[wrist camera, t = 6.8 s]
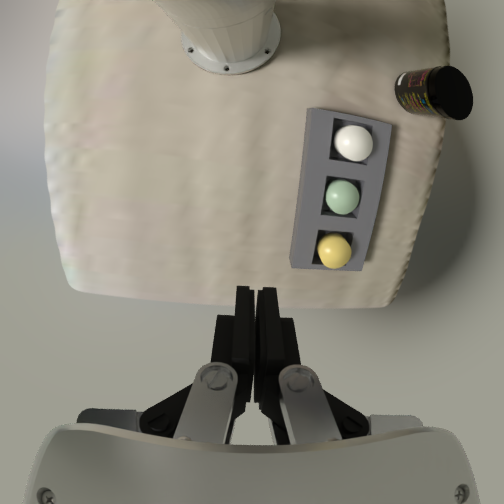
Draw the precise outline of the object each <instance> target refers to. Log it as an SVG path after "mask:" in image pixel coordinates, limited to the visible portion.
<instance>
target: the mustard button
mask: <svg viewBox="0 0 504 504" xmlns="http://www.w3.org/2000/svg"><path fill="white" fill-rule="evenodd" d="M317 251H318V254H319V256H320V258H321V261H322V263H323V264H324V265H325V266H326V267H328V268H332V269H336V268H340V267H342V266H344V265H345V264H346V263H347V262H348V261H349V259H350V257H351V247H350V246H349V244H348V243H347V241H346V240H345V238H344V237H343V236H342V235H341V234H339V233H336V232H331V233H327V234H325V235H324V236H323V237H321V239H320V240H319V242H318V244H317Z"/></svg>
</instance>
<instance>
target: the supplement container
mask: <svg viewBox="0 0 504 504" xmlns="http://www.w3.org/2000/svg"><path fill="white" fill-rule="evenodd" d="M395 95H396V98H397V100H398V102H399V104H400V105H401V106H402V107H403V108H404V109H405V110H406V111H408V112H409V113H411V114H416V115H426V116H434V117H442V118H447V119H454V120H463V119H465V118H467V117H468V115H469V114H470V112H471V110H472V106H473V94H472V90H471V87H470V84H469V82H468V80H467V79H466V77H465V76H464V75H463V73H461V72H460V71H459V70H458V69H456V68H455V67H452V66H439V67H435V68H428V69H421V70H415V71H409V72H404V73H402V74H401V75H399V77H398V78H397V80H396V82H395Z"/></svg>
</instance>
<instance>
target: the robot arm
mask: <svg viewBox="0 0 504 504" xmlns="http://www.w3.org/2000/svg"><path fill="white" fill-rule="evenodd" d="M153 1H154V2H155V3H156V4H157V5H158V6H159V7H160V8H161V9H162V10H163V11H164V12H165V13H166V15H167V16H168V17H169V18H170V19H171V20H172V21H173V22H174V23H175V24H176V26H177V27H178V28H179V29H180V30H181V42H182V46H183V49H184V51H185V53H186V55H187V56H188V57H189V59H190V60H191V61H192V62H193V63H194V64H195V65H197V66H198V67H200V68H202V69H203V70H206V71H208V72H211V73H215V74H219V75H237V74H242V73H246V72H249V71H252V70H254V69H256V68H258V67H260V66H261V65H263V64H264V63H265V62H266V61H268V60H269V59H270V58H271V56H272V55H273V54H274V52H275V51H276V49H277V47H278V44H279V41H280V37H281V28H280V23H279V20H278V18H277V16H276V14H275V13H274V12H273V11H274V6H275V2H276V0H153ZM191 50H194V52H192V53H190V51H191ZM265 51H268V52H269V53H268V54H266V53H265ZM226 68H229V71H226ZM253 375H254V402H255V403H257V402H258V403H259V409H260V410H261V412H262V413H263V414H264V415H266V416H267V417H268V421H269V426H270V430H271V435H272V439H273V443H274V445H263V446H262V445H230V444H231V439H232V435H233V431H234V426H235V422H236V418H237V417H239V416H240V415H241V414H243V413H244V412H245V407H246V402H250V399H251V390H252V383H253ZM23 504H480V499H479V495H478V491H477V487H476V483H475V479H474V475H473V472H472V470H471V466H470V463H469V460H468V458H467V455H466V453H465V451H464V449H463V447H462V445H461V443H460V441H459V440H458V438H457V437H456V436H455V435H454V434H453V433H452V432H450V431H448V430H445V429H442V428H436V427H423V424H422V422H421V421H420V419H418V418H417V417H415V416H411V415H370V417H367V416H364V415H363V414H362V413H360V412H359V411H357V410H355V409H353V408H352V407H350V406H349V405H347V404H345V403H344V402H342V401H341V400H339V399H337V398H336V397H334V396H333V395H331V394H330V393H328V392H326V391H325V390H323V389H322V386H321V383H320V381H319V378H318V376H317V375H316V373H315V372H314V371H313V370H312V369H311V368H309V367H307V366H303V365H301V362H300V355H299V350H298V344H297V339H296V332H295V327H294V322H293V318H280V315H279V307H278V299H277V291H276V288H273V287H263V290H258V296H257V306H256V317H255V301H254V290H249V286H237V291H236V305H235V316H231V315H217V320H216V327H215V334H214V341H213V348H212V356H211V363H208V364H206V365H204V366H202V367H201V368H200V369H199V370H198V372H197V374H196V377H195V379H194V382H193V383H192V384H191V385H189V386H187V387H185V388H184V389H182V390H181V391H179V392H177V393H175V394H174V395H172V396H170V397H168V398H167V399H165V400H163V401H161V402H160V403H158V404H156V405H154V406H152V407H150V408H148V409H147V410H146V411H144V412H137V411H136V410H120V409H96V408H89V409H85V410H84V411H82V412H81V413H80V414H79V416H78V418H77V423H74V424H65V425H61V426H58V427H55V428H54V429H52V430H51V431H50V432H49V433H48V434H47V436H46V437H45V439H44V440H43V442H42V444H41V446H40V448H39V450H38V452H37V455H36V457H35V460H34V462H33V465H32V468H31V471H30V474H29V478H28V482H27V486H26V490H25V494H24V499H23Z"/></svg>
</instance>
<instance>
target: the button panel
mask: <svg viewBox="0 0 504 504" xmlns="http://www.w3.org/2000/svg"><path fill="white" fill-rule="evenodd" d="M344 125H354V126H360V127H363V128H364V129H366V130H367V131H368V132H369V133H370V135H371V137H372V141H373V147H372V151H371V153H370V155H369V156H368V157H367V158H366V159H364V160H361V161H352V160H350V159H347V158H345V157H343V156H342V155H340V154H339V153H338V152H337V151H336V149H335V147H334V141H333V140H334V135H335V133H336V131H337V130H338V129H339V128H340V127H342V126H344ZM391 129H392V125H391V124H388V123H384V122H380V121H376V120H372V119H367V118H363V117H359V116H354V115H349V114H344V113H339V112H333V111H328V110H322V109H315V108H308V109H307V116H306V126H305V136H304V146H303V156H302V165H301V173H300V182H299V190H298V198H297V206H296V214H295V221H294V228H293V236H292V243H291V249H290V256H289V259H290V263H291V267H292V268H301V269H322V270H345V271H362V268H363V264H364V261H365V257H366V254H367V250H368V246H369V242H370V239H371V235H372V231H373V227H374V222H375V218H376V214H377V209H378V205H379V200H380V195H381V190H382V185H383V180H384V175H385V169H386V163H387V157H388V151H389V144H390V137H391ZM335 178H343V179H345V180H347V181H348V182H350V183H351V184H352V185H354V186H355V187H356V188H357V190H358V193H359V202H358V205H357V207H356V208H355V209H354V210H353V211H352V212H350V213H348V214H337V213H335V212H334V211H333V210H332V209H331V208H330V207H329V206H328V204H327V203H326V202H325V200H324V190H325V186H326V184H327V183H328V182H329V181H330V180H332V179H335ZM331 232H336V233H339V234H341V235H342V236H343V237H344V238H345V240H346V241H347V243H348V244H349V246H350V247H351V257H350V259H349V261H348V262H347V263H346V264H345V265H344V266H342V267H340V268H336V269H332V268H328V267H326V266H325V265H324V264H323V263H322V261H321V258H320V256H319V254H318V251H317V244H318V242H319V240H320V239H321V237H323V236H324V235H325V234H327V233H331Z"/></svg>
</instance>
